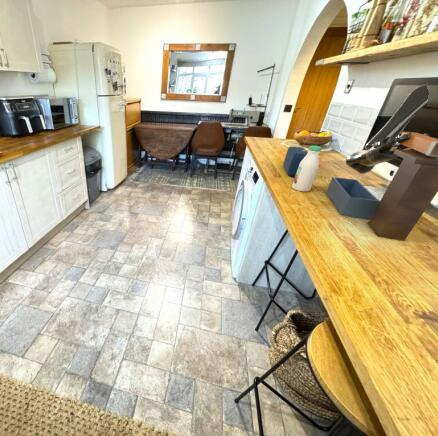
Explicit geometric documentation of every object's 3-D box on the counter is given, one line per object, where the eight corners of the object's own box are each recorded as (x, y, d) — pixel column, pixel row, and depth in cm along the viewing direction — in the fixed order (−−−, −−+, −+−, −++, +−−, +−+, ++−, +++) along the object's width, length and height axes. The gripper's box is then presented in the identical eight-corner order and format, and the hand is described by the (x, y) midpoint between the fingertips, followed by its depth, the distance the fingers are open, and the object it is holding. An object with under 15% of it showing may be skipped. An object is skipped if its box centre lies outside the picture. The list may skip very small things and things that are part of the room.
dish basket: (349, 195, 108) (356, 179, 104) (370, 219, 89) (380, 201, 86) (325, 192, 111) (332, 176, 107) (341, 215, 92) (349, 197, 88)
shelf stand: (391, 223, 87) (435, 152, 74) (410, 242, 77) (465, 163, 64) (359, 218, 90) (395, 148, 77) (372, 235, 80) (417, 159, 67)
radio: (305, 179, 126) (320, 140, 116) (287, 177, 128) (299, 138, 118) (297, 167, 143) (309, 132, 133) (281, 165, 145) (292, 131, 135)
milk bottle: (313, 189, 114) (329, 147, 104) (304, 193, 110) (321, 149, 100) (296, 184, 119) (310, 143, 109) (288, 187, 115) (302, 145, 105)
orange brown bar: (396, 142, 82) (402, 131, 80) (410, 143, 81) (416, 132, 79) (428, 155, 68) (436, 142, 66) (445, 157, 67) (453, 143, 65)
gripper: (363, 140, 94) (393, 123, 78) (408, 144, 90) (450, 125, 73) (359, 159, 94) (388, 145, 78) (404, 163, 90) (444, 150, 74)
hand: (418, 136), depth 76 cm, fingers closed on orange brown bar, 3 cm apart
